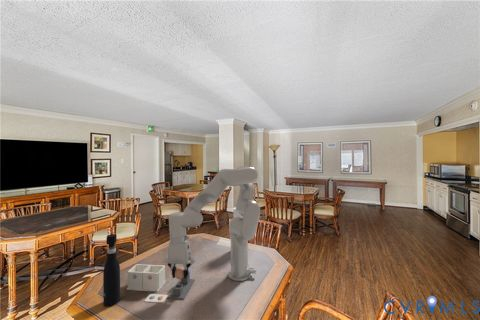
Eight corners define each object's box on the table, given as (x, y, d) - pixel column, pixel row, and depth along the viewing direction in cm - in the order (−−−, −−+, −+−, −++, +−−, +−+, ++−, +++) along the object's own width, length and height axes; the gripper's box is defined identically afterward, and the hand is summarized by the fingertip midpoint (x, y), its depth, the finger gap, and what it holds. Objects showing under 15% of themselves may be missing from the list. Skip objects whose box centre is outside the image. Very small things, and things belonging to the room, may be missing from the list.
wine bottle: (123, 296, 96) (122, 232, 96) (115, 306, 89) (114, 237, 89) (109, 297, 95) (108, 233, 96) (100, 307, 89) (99, 238, 89)
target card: (168, 295, 96) (168, 294, 96) (163, 302, 91) (163, 301, 91) (150, 294, 97) (150, 293, 97) (144, 301, 92) (144, 300, 92)
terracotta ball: (187, 275, 100) (186, 265, 99) (183, 281, 95) (182, 271, 94) (177, 275, 100) (177, 265, 100) (173, 281, 95) (172, 270, 95)
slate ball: (191, 274, 108) (191, 264, 108) (188, 279, 103) (188, 269, 103) (182, 273, 108) (182, 264, 108) (178, 279, 103) (178, 269, 104)
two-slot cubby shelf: (166, 281, 108) (166, 265, 108) (158, 291, 99) (157, 273, 99) (136, 279, 109) (136, 263, 109) (126, 289, 101) (126, 272, 101)
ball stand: (194, 280, 108) (194, 273, 108) (183, 299, 93) (183, 291, 93) (180, 279, 109) (180, 272, 109) (167, 298, 94) (167, 290, 94)
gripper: (198, 235, 100) (200, 272, 100) (165, 235, 102) (167, 272, 102) (192, 242, 92) (195, 281, 93) (157, 242, 94) (159, 281, 95)
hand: (180, 276), depth 97 cm, fingers closed on terracotta ball, 4 cm apart
